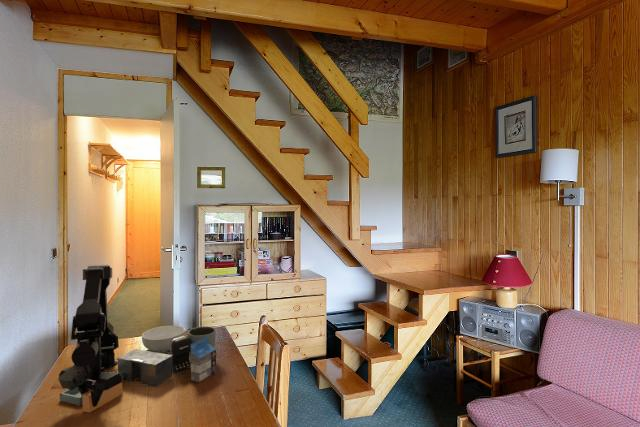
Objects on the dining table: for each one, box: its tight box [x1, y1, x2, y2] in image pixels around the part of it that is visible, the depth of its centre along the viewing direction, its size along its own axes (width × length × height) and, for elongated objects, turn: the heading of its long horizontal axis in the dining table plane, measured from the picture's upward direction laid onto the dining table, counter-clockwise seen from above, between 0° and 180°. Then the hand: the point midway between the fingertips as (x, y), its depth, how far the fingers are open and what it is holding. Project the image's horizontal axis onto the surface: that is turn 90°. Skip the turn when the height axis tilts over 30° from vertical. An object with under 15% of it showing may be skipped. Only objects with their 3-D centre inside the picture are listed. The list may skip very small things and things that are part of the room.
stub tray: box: [59, 371, 124, 407], centre depth 131 cm, size 8×16×2 cm, turn 160°
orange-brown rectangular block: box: [82, 382, 124, 414], centre depth 124 cm, size 2×12×5 cm, turn 160°
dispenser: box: [116, 348, 174, 388], centre depth 140 cm, size 16×8×8 cm, turn 70°
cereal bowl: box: [141, 325, 187, 353], centre depth 167 cm, size 17×17×7 cm
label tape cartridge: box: [190, 337, 217, 383], centre depth 141 cm, size 9×4×12 cm, turn 155°
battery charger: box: [169, 335, 191, 373], centre depth 147 cm, size 7×4×11 cm, turn 139°
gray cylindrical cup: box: [187, 325, 216, 365], centre depth 153 cm, size 10×10×12 cm
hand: (91, 405), depth 120 cm, fingers closed on orange-brown rectangular block, 2 cm apart
